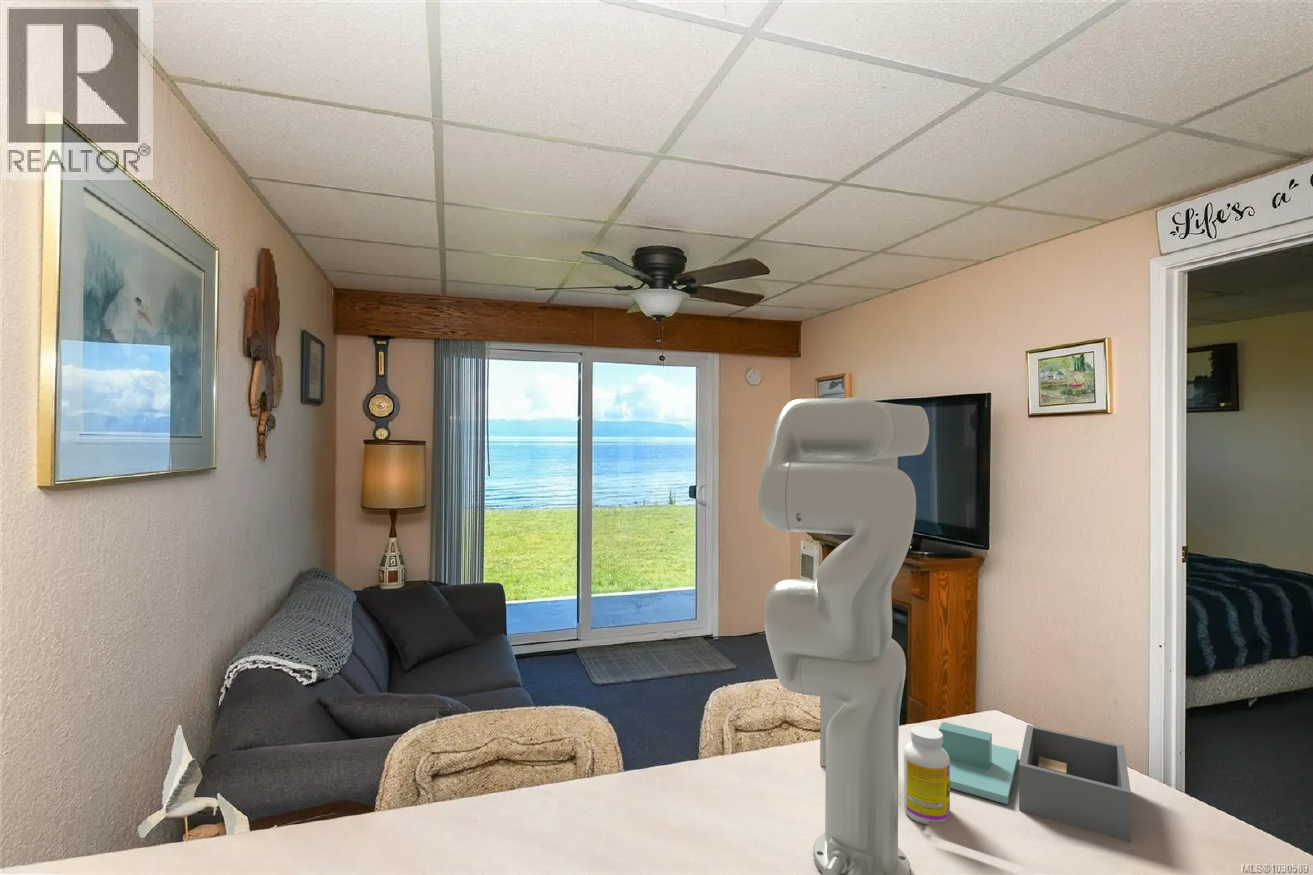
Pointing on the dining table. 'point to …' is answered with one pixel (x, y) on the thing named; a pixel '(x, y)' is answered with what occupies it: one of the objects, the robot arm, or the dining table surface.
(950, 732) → the lid
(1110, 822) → the tub
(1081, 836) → the dining table surface
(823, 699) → the small box
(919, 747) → the supplement bottle
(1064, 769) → the pine block
